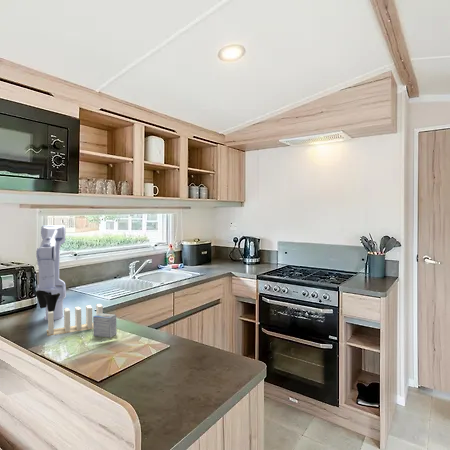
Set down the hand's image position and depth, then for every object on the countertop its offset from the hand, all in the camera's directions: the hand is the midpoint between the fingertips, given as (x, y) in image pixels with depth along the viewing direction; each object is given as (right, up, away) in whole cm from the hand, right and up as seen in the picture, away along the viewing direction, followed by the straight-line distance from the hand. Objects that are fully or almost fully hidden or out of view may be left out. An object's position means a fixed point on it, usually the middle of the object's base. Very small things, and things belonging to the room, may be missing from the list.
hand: (47, 309), depth 135 cm
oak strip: (+10, -10, +6) cm, 16 cm away
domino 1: (+1, -10, +1) cm, 10 cm away
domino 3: (+10, -9, +6) cm, 15 cm away
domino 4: (+14, -9, +8) cm, 19 cm away
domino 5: (+17, -9, +11) cm, 22 cm away
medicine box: (+24, -11, -2) cm, 26 cm away
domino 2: (+6, -10, +4) cm, 12 cm away
